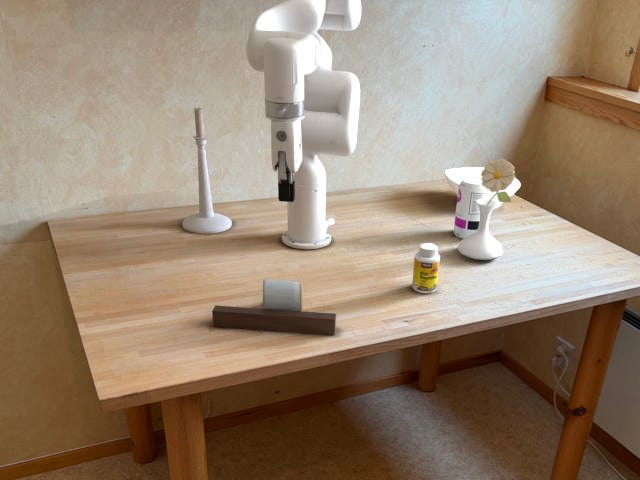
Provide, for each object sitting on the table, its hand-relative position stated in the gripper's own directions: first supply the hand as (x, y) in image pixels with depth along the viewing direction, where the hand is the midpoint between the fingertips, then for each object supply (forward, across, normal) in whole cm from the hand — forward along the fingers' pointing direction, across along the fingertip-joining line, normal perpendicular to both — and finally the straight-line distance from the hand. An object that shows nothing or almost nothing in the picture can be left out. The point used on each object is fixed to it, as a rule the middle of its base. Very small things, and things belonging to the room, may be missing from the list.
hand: (286, 200), depth 143 cm
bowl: (+22, +64, -48) cm, 83 cm away
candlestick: (+21, +33, +27) cm, 47 cm away
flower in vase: (+21, +23, -45) cm, 55 cm away
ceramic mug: (+19, -14, 0) cm, 24 cm away
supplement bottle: (+20, +2, -30) cm, 36 cm away
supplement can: (+21, +37, -43) cm, 61 cm away
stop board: (+19, -20, 0) cm, 28 cm away
